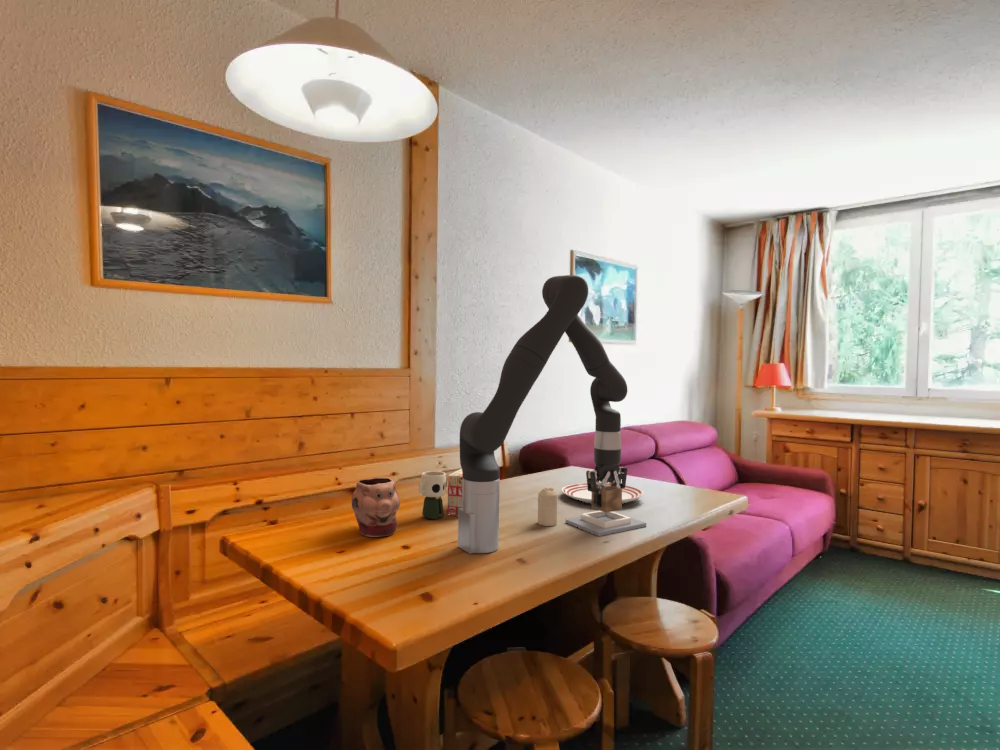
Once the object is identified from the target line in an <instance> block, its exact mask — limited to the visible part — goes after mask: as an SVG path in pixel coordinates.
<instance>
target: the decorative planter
mask: <svg viewBox="0 0 1000 750" xmlns="http://www.w3.org/2000/svg"><path fill="white" fill-rule="evenodd" d="M399 496H400V495H399V493H398V490H397V488H396V484H395V481H394V480H393V479H391V478H387V477H375V478H363V479H360V480H358V481H357V482H356V487H355V490H354V491H353V493H352V496H351V508H352V511H353V513H354V516H355V520H356V523H357V525H358V531H359V532H360V534H361V535H362V536H365V537H370V538H378V537H386V536H391V535H393V534H395V533H396V531H397V527H398V524H397V523H398V522H397V511H399V509H400V507H401V506H400V505H401V499H400V497H399Z"/></svg>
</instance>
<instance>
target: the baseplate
mask: <svg viewBox="0 0 1000 750" xmlns="http://www.w3.org/2000/svg"><path fill="white" fill-rule="evenodd" d="M564 521H565V522H564V523H566V524H567V523H568V525H570V526H572V525H573V526H572V527H575V528H577V527H578V528H577V529H580V530H582V529H583V530H582V531H585V532H587V533H589V532H590V534H592V535H594V534H595V536H597V537H602V536H608V535H613V534H616V533H621V532H626V531H632V530H636V528H637V529H641V528H645V526H646V527H647V522H645V521H641V520H640V519H636V518H633V517H630V516H627V515H623V514H621V513H619V512H616V511H612V512H603V511H600V510H595V511H590V512H584V513H580V516H577V517H576V516H575V517H570V518H566V519H565V520H564ZM612 533H613V534H612Z"/></svg>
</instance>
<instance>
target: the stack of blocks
mask: <svg viewBox="0 0 1000 750" xmlns="http://www.w3.org/2000/svg"><path fill="white" fill-rule="evenodd" d="M459 508H462V468H461V467H460V469H458V470H456V471H454V472H453V473H450V474H448V475H447V514H450V515H449V516H452V515H458V514H459ZM447 514H446V515H447Z"/></svg>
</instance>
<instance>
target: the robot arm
mask: <svg viewBox="0 0 1000 750" xmlns="http://www.w3.org/2000/svg"><path fill="white" fill-rule="evenodd" d="M541 295H542V300H543V302H544V304H545V305H546V306H547V309H548V310H547V311H546V313H545V314H544V316H542V317H541V319H540V320H539V321H537V322H536V324H534V325H533V326H531V327H530V328H529V329H528V330H527V331H526V332H525V333H524V334H523V335H521V336H520V338H519V339H517V341H516V343H515V344H514V345H513V347H512V349H511V350H510V352H509V354H508V355H507V357H506V358H505V361H504V363H503V366H502V369H501V372H500V378H499V383H498V387H497V390H496V391H495V394H494V396H493V398H492V399H491V401H490V402H489V404H488V405H487V406H486V408H485V409H484V411H483V412H480V411H477V412H471V413H470V414H467V415H466V416H465V417H464V418H463V420H462V422H461V424H460V428H459V464H460V469H461V468H462V508H459V514H458V516H457V517H458V519H457V521H458V524H457V528H458V530H457V547H458V548H460V549H461V550H463V551H465V552H466V553H468V554H470V555H471V554H487V553H488V554H489V553H493V552H496V551H497V550H498V549H499V541H500V537H499V536H500V533H499V531H500V490H501V489H500V488H501V487H500V485H501V483H500V482H501V481H500V479H501V478H500V477H501V469H500V466H499V464H498V463H497V460H496V458H495V457H496V456H495V451H497V450H498V449H499V448H500V447H501V446H502V445H503V443H504V441H505V440H506V438H507V436H508V434H509V432H510V429H511V427H512V425H513V424H514V421H515V419H516V417H517V415H518V412H519V410H520V408H521V406H522V404H523V403H524V401H525V400H526V398H527V396H528V395H529V393H530V391H531V390H532V388H533V386H534V384H535V382H536V381H537V380H538V378H539V376H540V375H541V373H542V372H543V370H544V368H545V366H546V365H547V363H548V360H549V359H550V357H551V355H552V353H553V351H555V349H556V347H557V346H558V344H559V342H560V341H561V338H562V337H563V336H564V334H565V335H566V336H567V337H568V339H569V340H570V342H571V344H572V345H573V347H574V349H575V351H576V353H577V355H578V357H579V359H580V361H581V363H582V365H583V367H584V369H585V372H586V373H587V374H588V375H589V376H591V377H593V378H594V379H593V380H592V382H591V383H590V384H591V385H590V387H589V388H590V391H589V392H590V399H591V402H592V407H593V411H594V415H595V431H594V438H593V439H594V443H593V445H594V446H593V450H594V451H593V461H594V463H595V466H594V469H593V470H586V472H585V474H586V475H585V476H586V483H587V487H588V491H590V492H593V494H594V499H593V500H594V501H593V503H594V505H595V506H596V507H601V492H602V490H603V487H605V485H606V483H610V484H611V486H615V487H618V488H625V485H627V484H626V483H627V475H628V467H624V466H620V464H621V463H622V462H621V461H622V434H621V433H622V432H621V426H622V425H621V424H622V423H621V422H622V418H621V413H620V412H619V411H618V410H616V409H613V408H612V406H611V402H612V403H613V402H614V403H618V402H622V401H624V400H625V398H626V397H627V395H628V385H627V381H626V380H625V378H624V376H623V375H622V374H621V372H620V371H619V370H618V369H617V367H616V366H615V365H614V364H613V363H612V362H611V360H610V359H609V356H608V354H607V352H606V349H605V348H604V345H603V343H602V342H601V340H600V339H599V338H598V337H597V336H596V335H597V334H595V333H594V331H592V329H590V327H588V326H587V324H586V323H585V322H584V321H583V320H582V318H581V317H580V315H579V314H580V312H581V310H582V309H583V307H584V306H585V304H586V302H587V299H588V297H589V285H588V283H587V281H586V280H585V278H583V276H580V275H574V274H566V275H556V276H551V277H549V278H547V279H546V280H545V282H544V283H543V286H542V291H541ZM599 482H600V483H599ZM598 486H599V488H598ZM597 488H598V489H597Z"/></svg>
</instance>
